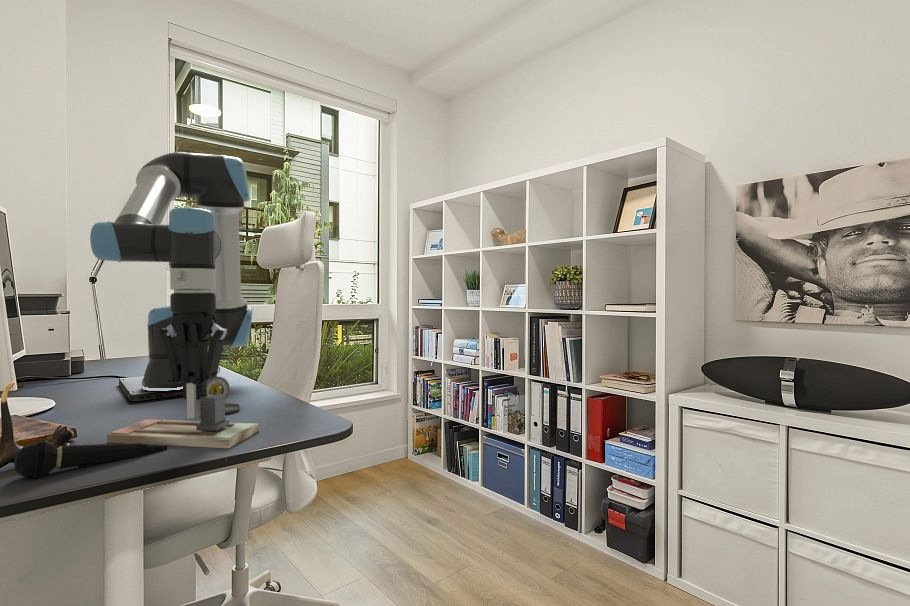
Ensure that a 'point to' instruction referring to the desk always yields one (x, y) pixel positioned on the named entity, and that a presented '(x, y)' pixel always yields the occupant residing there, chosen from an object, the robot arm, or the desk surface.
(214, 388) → the pocket watch
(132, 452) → the microphone
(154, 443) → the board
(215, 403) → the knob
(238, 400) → the desk surface
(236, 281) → the robot arm
